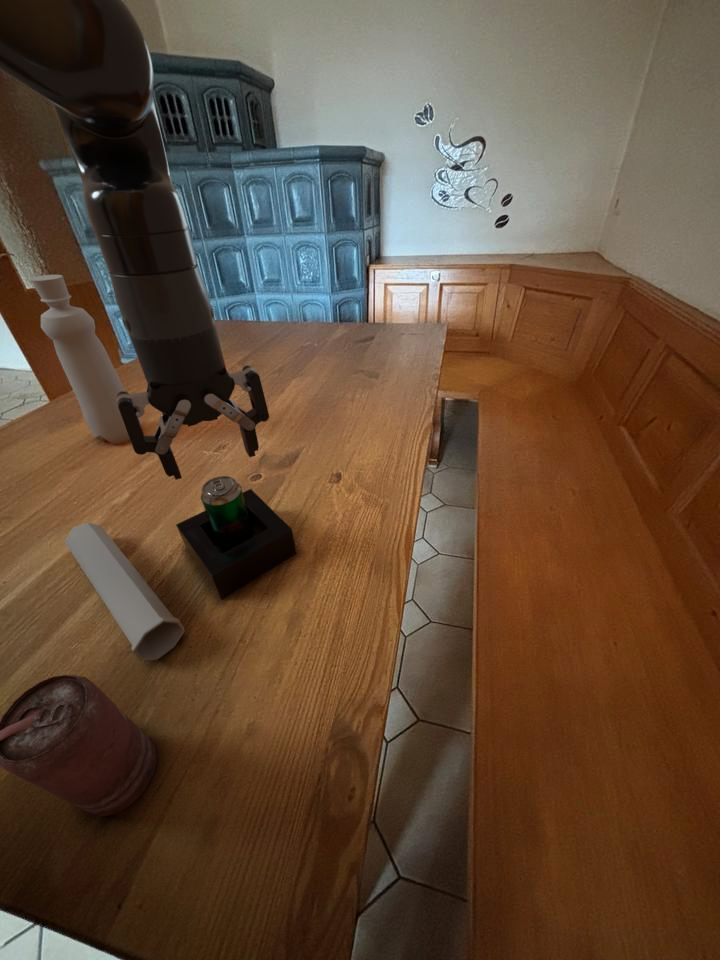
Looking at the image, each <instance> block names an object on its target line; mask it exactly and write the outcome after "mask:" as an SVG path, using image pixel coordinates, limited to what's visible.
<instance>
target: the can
mask: <svg viewBox="0 0 720 960" xmlns="http://www.w3.org/2000/svg"><path fill="white" fill-rule="evenodd" d="M156 765H157V748H156V746H155V744H154V741H153V740H152V739H151V738H150V737H149V736H148V735H147V734H146V733H145V732H144V731H143V730H142V729H141V728H140V727H139V726H138V725H137V724H136V723H135V722H134V721H133V720H132V719H131V718H130V717H128V715H127V714H126V713H125V712H123V710H121V708H120V707H119V706H117V704H116V703H115V702H113V700H111V698H110V697H109V696H107V695H106V693H104V692H103V690H102V689H100V687H99V686H97V685H96V684H95V683H94V682H93V681H92V680H90V679H88V677H86V676H82V675H76V674H71V675H70V674H61V675H55V676H51V677H49V678H46V679H44V680H42V681H39V682H38V683H36V684H34V685H32V686H31V687H30V688H27V689H26V690H25V691H24V692H23V693H22V694H21V695H20V696H18V698H16V699H14V701H13V702H12V703H11V704H10V706H9V707H8V708H7V710H6V711H5V712H4V713H3V715H2V716H1V718H0V766H1V768H3V769H4V770H5V771H6V772H8V773H10V774H12V775H14V776H16V777H18V778H20V779H22V780H24V781H26V782H28V783H29V784H32V785H34V786H35V787H38V788H40V789H42V790H44V791H45V792H47V793H50V794H51V795H53V796H55V797H58V798H60V799H62V800H63V801H66V802H67V803H69V804H71V805H73V806H75V807H77V808H79V809H81V810H83V811H85V812H87V813H89V814H91V815H94V816H97V817H107V816H113V815H116V814H118V813H120V812H121V811H123V810H125V809H128V808H129V807H130V806H131V805H132V804H133V803H134V802H135V801H136V800H137V799H139V797H140V796H142V794H143V792H144V791H145V790H146V789H147V787H148V785H149V784H150V782H151V779H152V777H153V775H154V773H155V769H156Z"/></svg>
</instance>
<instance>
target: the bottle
mask: <svg viewBox="0 0 720 960" xmlns="http://www.w3.org/2000/svg"><path fill="white" fill-rule="evenodd" d="M29 282H31V284H32V286H33V287H34V289H35V291H36V292H37V294H38V296H39V297H40V300H39V301H40V302H43V303H45V305H47V306H48V307H49V309H47V310H46V311H44V312H43V313H42V314H40V328H41V330H42V331H43V333H44V334H45V335H46V336H47V337H48V338H49V339H50V340H52V342H53V346H54V350H55V353H56V356H57V358H58V360H59V363H60V364H61V367H62V369H63V371H64V373H65V375H66V378H67V380H68V382H69V384H70V386H71V389H72V391H73V393H74V396H75V398H76V400H77V402H78V404H79V406H80V408H81V413H82V416H83V418H84V420H85V422H86V424H87V426H88V428H89V430H90V431H91V433H92V435H93V437H94V439H95V440H98V441H99V442H102V443H104V442H107V441H108V442H109V443H111V444H112V445H118V444H123V443H127V442H129V441H130V438H129V435H128V432H127V430H126V427H125V424H124V422H123V419H122V416H121V414H120V411H119V408H118V403H117V394H118V393H119V392H121V391H125V392H127V391H126V390H125V387H124V386H123V383H122V381H121V379H120V377H119V375H118V373H117V371H116V369H115V367H114V365H113V363H112V361H111V359H110V356H109V355H108V352H107V350H106V348H105V347H104V344H103V343H102V341H100V339H99V337H98V335H96V324H95V319H94V318H93V317H92V316H91V315H90V314H89V313H88V312H87V311H86V310H85V309H84V308H82V307H77V306H73V305H70V299H71V298H72V295H71V294H70V293H69V291H68V288H67V284H66V282H65V278H64V275H62V274H45V275H44V274H43V275H39V276H38V275H37V276H34V277H30V278H29ZM138 419H139V422H140V425H141V426H142V421H141V419H140V417H138Z"/></svg>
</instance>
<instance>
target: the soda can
mask: <svg viewBox="0 0 720 960" xmlns="http://www.w3.org/2000/svg"><path fill="white" fill-rule="evenodd" d="M243 492H244V491H243V489H242V486H241V485H240V483H238V482H237V480H236V479H235V478H234V477H232V476H229V475H220V476H216V477H212V478H210V479H209V480H207V481H206V482H205V483H204V484H203V485H202V487H201V494H200V500H201V503H202V505H203V506H202V507H203V508H204V511H206V514H207V517H208V519H209V522H210V525H211V528H212V530H213V533H214V536H215V539H216V541H217V544H218V545H217V547H218V550H219V552H220V553H221V554H223V553H225V552H227V551H228V550H230V549H232V548H234V547H236V546H237V545H239V544H241V543H243V542H245V541H247V540H248V539H250V538H252V537H254V536H255V532H254V530H253V529H252V526H251V522H250V518H249V514H248V511H247V507H246V503H245V500H244V496H243Z"/></svg>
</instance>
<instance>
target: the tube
mask: <svg viewBox="0 0 720 960" xmlns="http://www.w3.org/2000/svg"><path fill="white" fill-rule="evenodd" d="M64 543H65V545H66V547H67V548H68V550H69V551H70V553H71V554H72V556H73V558H75V560H76V562H77V563H78V565H79V567H80V568H81V570H82V571H83V573H84V574H85V576H86V577H87V579H88V580H89V582H90V584H91V585H92V586H93V588H94V589H95V591H96V592H97V594H98V595H99V597H100V599H101V600H102V602H103V603H104V605H105V606H106V608H107V609H108V611H109V612H110V615H112V617H113V618H114V621H116V623H117V625H118V626H119V628H120V629H121V630H122V633H124V635H125V637H126V638H127V640H128V641H129V643H130V644H131V647H130V649H131V651H132V652H133V654H134V655H135V656H136V658H137V659H138V660H139V662H140V661H141V662H142V661H157V660H159V659H160V658H162V657H163V656H164V655H166V654H167V653H168V652H170V651H171V650H172V649H174V648H175V647H176V645H177V643H178V642H179V640H180V639H181V638H182V636H183V635H184V633H185V631H186V630H185V628H184V626H183V625H182V622H181V621H180V619H179V618H178V617H175V616H174V615H172V613H171V611H169V610H168V608H167V607H166V606H165V604H164V603H163V602H162V600H161V599H160V598H159V597H158V596H157V594H156V593H155V592H154V591H153V590H152V588H151V587H150V586H149V584H148V583H147V582H146V580H145V579H144V577H142V575H141V574H140V573H139V572H138V571H137V569H136V567H134V565H133V564H132V563H131V562H130V560H129V559H128V558H127V557H126V555H125V554H124V553H123V552H122V550H121V549H120V548H119V546H118V545H117V544H116V542H114V540H113V539H112V538H111V536H110V535H109V534H108V533H107V531H106V530H105V529H104V527H102V525H101V524H96V523H93V522H83V523H81V524H78V525H76V526H73V527H72V528H71V530H70V531H69V533H68V534H67V536H66V538H65V540H64Z"/></svg>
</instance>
